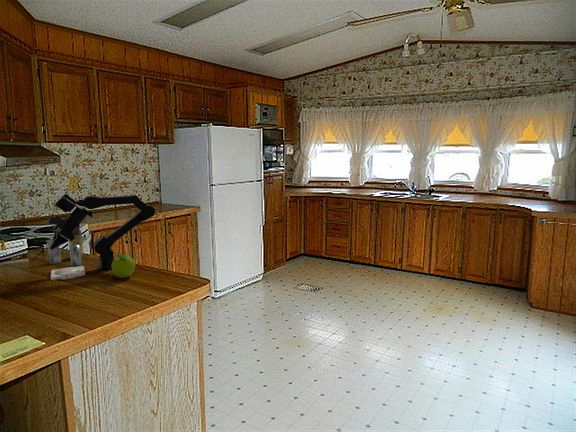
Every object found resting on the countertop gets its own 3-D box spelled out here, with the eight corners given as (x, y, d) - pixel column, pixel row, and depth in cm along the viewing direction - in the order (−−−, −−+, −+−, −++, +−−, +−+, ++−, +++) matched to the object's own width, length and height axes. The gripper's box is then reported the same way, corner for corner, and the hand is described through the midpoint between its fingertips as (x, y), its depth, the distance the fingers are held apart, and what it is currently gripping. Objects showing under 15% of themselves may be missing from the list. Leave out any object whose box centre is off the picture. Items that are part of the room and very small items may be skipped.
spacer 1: (63, 261, 177) (60, 239, 175) (53, 264, 173) (50, 241, 171) (57, 260, 179) (54, 238, 177) (47, 263, 175) (44, 240, 173)
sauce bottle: (73, 259, 206) (69, 221, 203) (67, 257, 210) (63, 220, 207) (86, 256, 211) (82, 219, 208) (80, 255, 215) (76, 218, 212)
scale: (83, 268, 189) (83, 263, 188) (85, 276, 176) (84, 271, 175) (51, 272, 183) (51, 267, 182) (50, 281, 169) (50, 276, 169)
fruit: (116, 281, 167) (114, 258, 166) (110, 276, 174) (108, 254, 173) (139, 277, 173) (137, 254, 172) (131, 272, 180) (129, 250, 179)
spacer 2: (83, 265, 194) (81, 245, 193) (74, 267, 191) (72, 246, 189) (78, 264, 197) (76, 244, 195) (69, 266, 193) (67, 246, 191)
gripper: (55, 206, 182) (30, 234, 177) (61, 210, 167) (34, 240, 162) (77, 221, 188) (53, 248, 183) (85, 226, 173) (59, 255, 168)
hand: (50, 248), depth 174 cm, fingers closed on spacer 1, 4 cm apart
